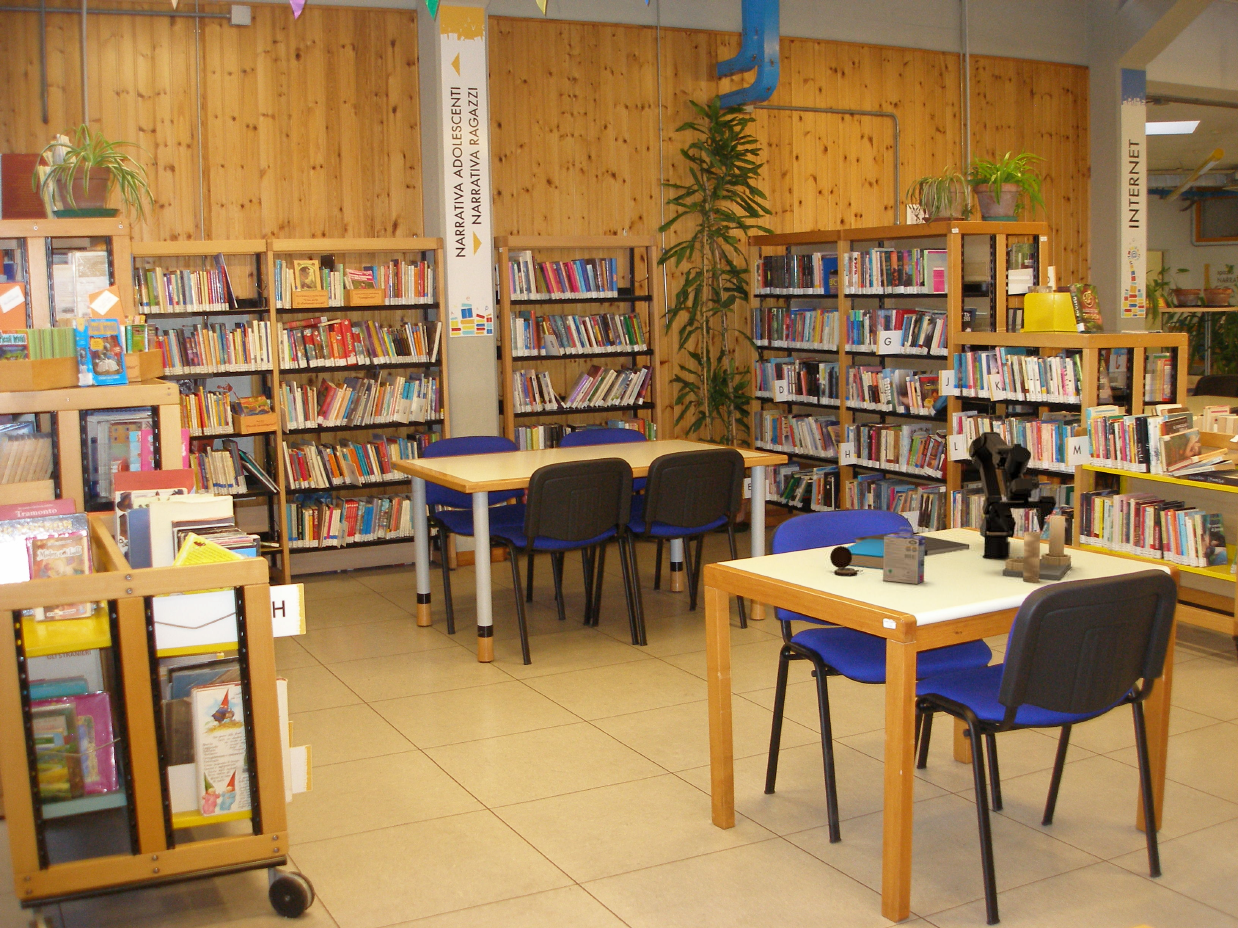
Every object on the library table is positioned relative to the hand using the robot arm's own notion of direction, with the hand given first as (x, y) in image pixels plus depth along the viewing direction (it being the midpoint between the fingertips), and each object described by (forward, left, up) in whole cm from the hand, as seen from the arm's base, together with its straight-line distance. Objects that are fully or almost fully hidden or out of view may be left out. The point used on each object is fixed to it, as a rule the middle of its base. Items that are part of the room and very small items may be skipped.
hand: (1024, 530), depth 318 cm
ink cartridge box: (-27, -21, -13) cm, 36 cm away
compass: (-43, -18, -13) cm, 49 cm away
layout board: (+2, +9, -13) cm, 15 cm away
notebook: (-39, +31, -13) cm, 52 cm away
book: (-42, +5, -13) cm, 44 cm away
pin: (+3, -6, -13) cm, 14 cm away
